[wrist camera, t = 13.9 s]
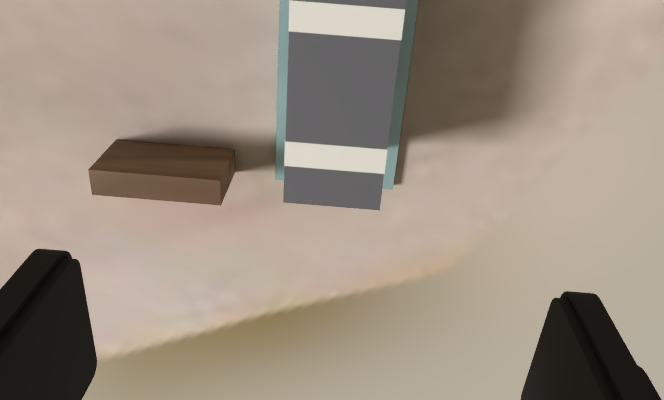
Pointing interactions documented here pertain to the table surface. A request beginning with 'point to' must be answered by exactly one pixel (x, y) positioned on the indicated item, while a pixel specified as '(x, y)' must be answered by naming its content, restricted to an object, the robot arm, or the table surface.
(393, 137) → the rubber mat
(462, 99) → the table surface
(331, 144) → the banded grey block
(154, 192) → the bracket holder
